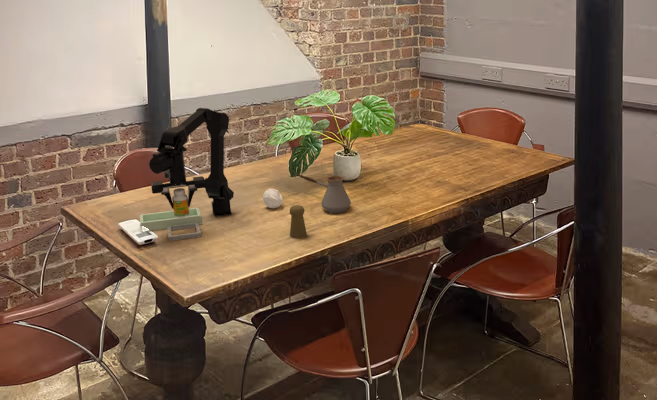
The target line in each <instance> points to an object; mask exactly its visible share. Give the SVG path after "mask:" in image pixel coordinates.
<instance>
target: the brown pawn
mask: <svg viewBox="0 0 657 400" xmlns="http://www.w3.org/2000/svg"><path fill="white" fill-rule="evenodd" d="M304 214H305V208H304V206H303V205H299V204H298V205H297V204H296V205H292V206H290V208H289V215H290V216H291V217H290V218H291V219H290V231H289V237H290V238H291V239H304V238H306V237H307V236H308V234H307V229H306V223H305V217H304Z"/></svg>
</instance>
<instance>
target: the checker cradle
mask: <svg viewBox="0 0 657 400" xmlns="http://www.w3.org/2000/svg"><path fill="white" fill-rule="evenodd" d="M194 228H195V231H196V232H188V233H181V234H173V235H172V231H179V230H185V229H194ZM166 230H167V235H168V241H169V242H171V241H180V240H186V239H194V238H196V239H197V238H201V237H202V233H201V228H200V225H199V224H198V222H195V223H187V224H179V225H171V226H167V229H166Z"/></svg>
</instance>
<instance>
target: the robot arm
mask: <svg viewBox="0 0 657 400" xmlns="http://www.w3.org/2000/svg"><path fill="white" fill-rule="evenodd" d="M195 110H196V111H195V112H193V113H192V114H191V115H190V116H188V118H186V119H185V120H184V121H182V122H181V123H180V124H179V125H177V126H174V127H170V128H168V129H166V130H165V131H163V133H162V134H161V137H160V141H159V143H158V147H157V150H156V151H157V152H156V153H152V157H151V159H150V160H149V163H148V164H149V165H148V166H149V169H150V171H151V172H152V173H154V174H156V175H159V174H161V173H163V172H164V178H165V179H168V180H169V182H167V183H164V182H163V180H158V181H157V180H156V181H152V182H151V187H150V188H151V193H152V194H153V195H155V194H161V195H162V196H164V197H165V199H167V201H168V203H169V206H170V207H171V209H172V210H174V208H173V200H172V195H171V191H170V189H178V188H183V187H184V188H185V187H187V197H188V206H189V208H190V207H191V203H192V200H193V197H194V195H195V192H198V189H205V193H206V194H207V196H208V198H209V199H212V201H211V209H212V214H213V215H214V216H215V217H219V216H229V215H233V213H232V210H231V200H233V198H234V194H235V192H234V191H233V190H232V189H231V187H229V183H228V179H227V177H226V175H225V172H224V171H225V170H224V163H225V162H224V161H225V160H224V159H225V157H224V156H225V155H224V154H225V135H226V133H227V132H228V130H229V125H230V124H229V123H230V117H229V116H228V114H227V113H225V112H218V111H215V110H212V109H210V108H206V107H199V108H197V109H195ZM204 123H205V126H206V130H207V132H208V134H209V136H210V165H209V166H210V172H209V175H208V177H204V176H193V177H192V180H187V178H186V177H187V176H186V167H185V159H184V157H185V156H184V152H186V151H188V149H187V148H186V147H185V146H184V145H185V144H186V143H187V142H188V140H189V136H190V135H191V134H192V133H193V132H195V131H196V130H197V129H198V128H199V127H201V125H203V124H204Z"/></svg>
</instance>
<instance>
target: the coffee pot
mask: <svg viewBox="0 0 657 400" xmlns="http://www.w3.org/2000/svg"><path fill="white" fill-rule="evenodd" d="M294 176H295V177H294V178H296V177H299V178H301V179H304V180H306V181H308V182H311V183H313V184H314V183H315V184H318V185H319V186H323V187H325V188H326V190H325V193H324V195H323V198H322V201H321V203H320V204H321V206H322V208H323V209H324V210H325V211H326V212H327V213H329V214H342V213H344V212H346V211H347V210H348V209H349V207H350V206H351V204H352V201H351V199H350V197H349V195H348V193H347V191H346V188H345V186H344V185H343V181H344V177H343V176H339V175H332V176H328V177H326V181H327V182H328V184H326V183H323V182H320V181H318V180H316V179H314V178H311V177H308V176H304V175H303V174H300V173H295V175H294Z"/></svg>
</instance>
